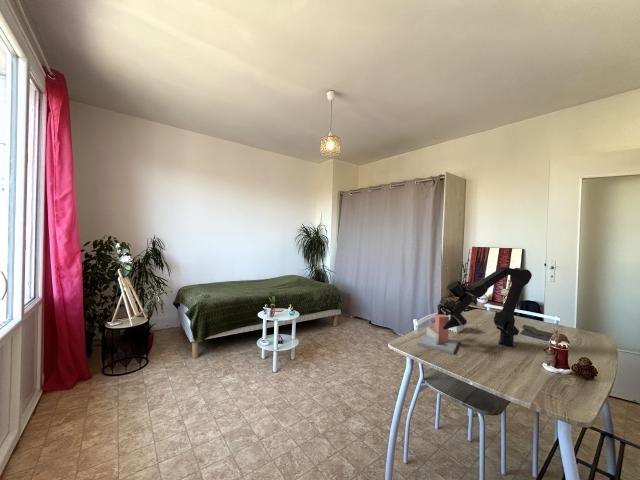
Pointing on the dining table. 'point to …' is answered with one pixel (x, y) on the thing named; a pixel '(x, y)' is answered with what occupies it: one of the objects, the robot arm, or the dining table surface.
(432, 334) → the bookend
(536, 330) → the picture frame
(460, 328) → the supplement box
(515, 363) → the dining table surface
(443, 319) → the boxed book
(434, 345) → the shelf board
